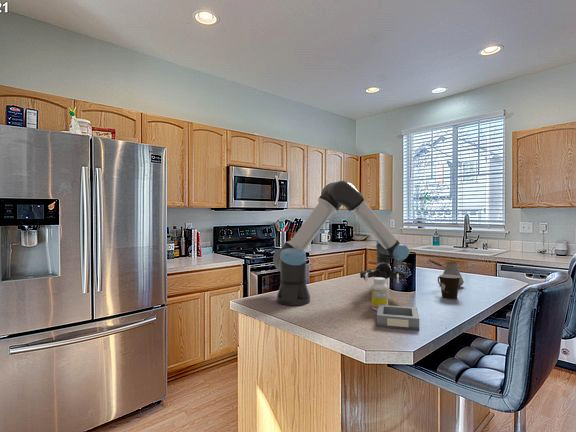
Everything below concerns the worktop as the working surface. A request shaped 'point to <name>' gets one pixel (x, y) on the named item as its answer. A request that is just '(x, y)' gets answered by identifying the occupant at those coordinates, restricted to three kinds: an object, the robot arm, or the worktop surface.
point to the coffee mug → (449, 286)
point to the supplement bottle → (379, 293)
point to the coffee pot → (450, 270)
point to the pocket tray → (398, 317)
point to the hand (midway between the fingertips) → (381, 279)
